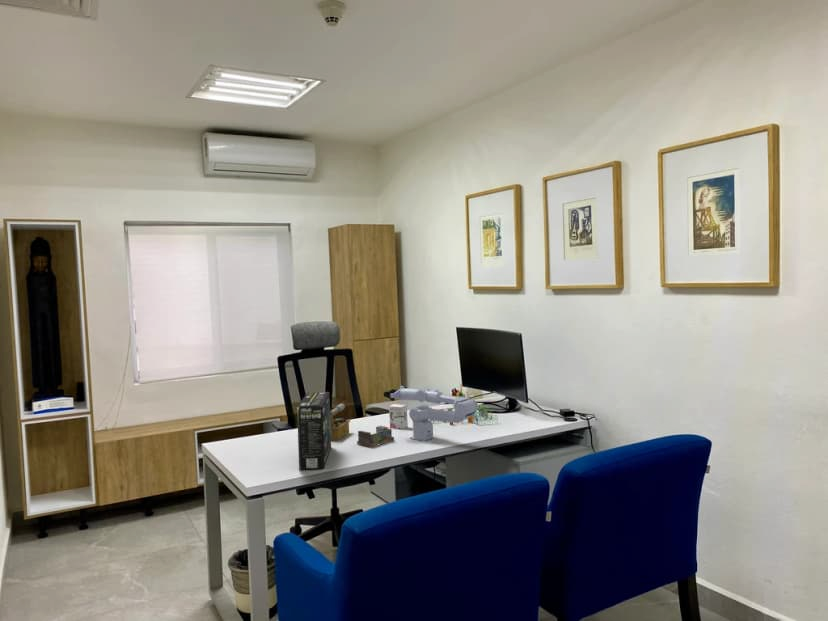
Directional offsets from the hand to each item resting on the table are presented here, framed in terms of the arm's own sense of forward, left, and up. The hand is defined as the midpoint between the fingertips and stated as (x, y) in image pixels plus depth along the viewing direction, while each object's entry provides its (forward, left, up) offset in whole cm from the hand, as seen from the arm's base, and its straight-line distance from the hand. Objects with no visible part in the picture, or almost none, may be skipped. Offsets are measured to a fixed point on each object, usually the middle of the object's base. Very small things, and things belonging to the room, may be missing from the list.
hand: (389, 393), depth 311 cm
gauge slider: (-8, +13, -18) cm, 23 cm away
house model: (-14, -42, -21) cm, 49 cm away
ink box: (+4, -11, -21) cm, 24 cm away
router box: (-4, +51, -21) cm, 55 cm away
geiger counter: (+16, +24, -21) cm, 35 cm away
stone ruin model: (-7, +17, -20) cm, 27 cm away
